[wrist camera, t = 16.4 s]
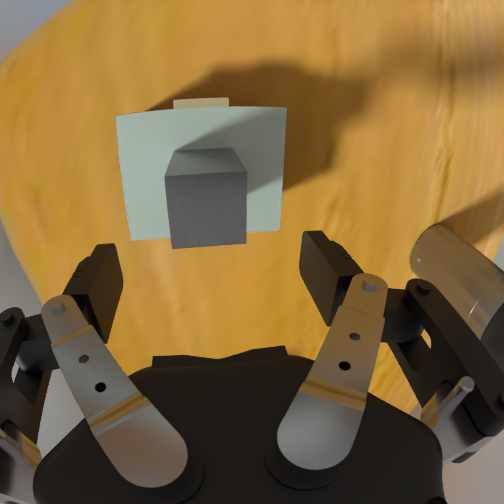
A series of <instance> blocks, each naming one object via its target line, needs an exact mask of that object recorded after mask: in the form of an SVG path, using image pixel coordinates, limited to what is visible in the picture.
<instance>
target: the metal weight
mask: <svg viewBox="0 0 504 504" xmlns="http://www.w3.org/2000/svg"><path fill="white" fill-rule="evenodd" d="M164 180H165V191H166V201H167V210H168V219H169V228H170V236H171V244H172V249H179V248H192V247H205V246H219V245H232V244H246V230H247V170H246V169H245V167H244V166H243V164H242V162H241V161H240V159H239V158H238V156H237V154H236V153H235V151H234V150H233V148H212V149H194V150H181V151H174V152H173V154H172V157H171V159H170V162H169V165H168V168H167V170H166V173H165V176H164Z"/></svg>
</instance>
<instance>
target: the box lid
mask: <svg viewBox="0 0 504 504" xmlns="http://www.w3.org/2000/svg"><path fill="white" fill-rule="evenodd" d="M173 108H174V109H165V110H155V111H145V112H137V113H129V114H122V115H117V116H116V125H117V139H118V150H119V160H120V169H121V177H122V185H123V193H124V200H125V206H126V213H127V219H128V225H129V230H130V236H131V241H133V240H146V239H159V238H171V236H170V228H169V219H168V210H167V201H166V191H165V180H164V176H165V173H166V170H167V168H168V165H169V162H170V159H171V157H172V154H173V152H174V151H181V150H194V149H212V148H233V150H234V151H235V153H236V154H237V156H238V158H239V159H240V161H241V162H242V164H243V166H244V167H245V169H246V170H247V230H246V232H263V231H279V229H280V216H281V201H282V186H283V170H284V154H285V136H286V116H287V108H285V107H263V106H229V98H228V97H221V98H193V99H178V100H173Z"/></svg>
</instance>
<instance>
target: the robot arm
mask: <svg viewBox="0 0 504 504" xmlns="http://www.w3.org/2000/svg"><path fill="white" fill-rule="evenodd" d="M410 264H411V268H412V271H413V272H414V273H415V274H416V275H417V276H418V277H419V278H420V279H418V278H415V279H411V280H409V281H408V282H407V285H406V288H405V290H403V289H392V288H388V285H387V283H386V282H385V281H384V280H383V279H382V278H380V277H378V276H376V275H373V274H368V273H364V272H363V271H362V269H361V268H360V267H359V266H358V265H357V263H356V262H355V261H354V260H353V259H352V257H351V256H350V255H349V254H347V251H346V250H345V249H344V248H343V247H342V246H341V245H339V244H338V243H336V242H334V241H330V240H329V239H328V238H327V236H326V235H325V234H324V233H323V232H322V231H321V230H319V231H304V232H303V235H302V243H301V252H300V261H299V270H300V275H301V277H302V279H303V281H304V283H305V285H306V287H307V289H308V291H309V292H310V294H311V296H312V298H313V300H314V302H315V304H316V306H317V308H318V310H319V312H320V314H321V316H322V317H323V319H324V321H325V323H326V325H327V327H329V326H331V327H330V329H329V331H328V334H327V336H326V338H325V340H324V342H323V345H322V347H321V349H320V351H319V353H318V355H317V358H316V360H315V361H314V360H311V359H308V358H305V357H301V356H295V355H288V354H287V351H286V348H285V345H283V346H276V347H268V348H260V349H252V350H249V351H246V352H243V353H239V354H236V355H233V356H230V357H226V358H223V359H212V358H204V357H196V356H189V355H173V356H153V360H152V366H150V367H147V368H144V369H141V370H139V371H137V372H135V373H133V374H131V375H129V376H127V375H126V374H125V372H124V371H123V370H122V368H121V367H120V366H119V364H118V363H117V361H116V360H115V359H114V357H113V356H112V354H111V353H110V352H109V350H108V349H107V347H106V346H105V344H107V343H108V339H109V335H110V331H111V327H112V324H113V320H114V317H115V313H116V310H117V306H118V303H119V299H120V296H121V293H122V289H123V275H122V271H121V267H120V263H119V259H118V254H117V250H116V246H115V244H114V243H110V244H98V245H96V247H95V249H94V250H93V252H92V254H91V256H89V257H86V258H85V259H84V260H82V261H81V262H80V263H79V264H78V266H77V268H76V270H75V272H74V273H73V275H72V278H71V279H70V280H69V282H68V284H67V286H66V288H65V290H64V291H63V293H62V295H59V296H56V297H53V298H51V299H50V300H48V301H47V302H46V303H45V304H44V305H43V307H42V309H41V314H38V315H34V316H30V317H25V316H24V314H23V311H22V310H21V309H20V308H17V307H13V308H9V309H7V310H5V311H3V312H2V313H1V314H0V502H3V503H5V504H447V502H446V500H445V497H444V491H443V482H442V466H443V465H445V464H447V463H449V462H453V463H461V462H464V461H465V460H467V459H468V458H470V457H471V456H472V455H473V454H475V453H476V452H477V451H479V450H480V449H481V448H482V447H483V446H485V445H486V444H487V443H488V442H489V441H491V440H492V439H493V438H494V437H495V436H496V435H498V434H499V433H500V432H501V431H502V430H503V429H504V271H503V270H501V269H500V268H499V267H498V266H497V265H496V264H494V263H493V262H492V261H491V260H490V259H488V258H487V257H486V256H485V255H484V254H482V253H481V252H480V251H479V250H477V249H476V248H475V247H473V246H472V245H471V244H470V243H468V242H467V241H466V240H464V239H463V238H462V237H461V236H459V235H458V234H457V233H455V232H454V231H452V230H451V229H450V228H448V227H447V226H446V225H443V224H438V225H434V226H432V227H430V228H429V229H428V230H426V231H425V232H424V233H423V234H422V235H421V236H420V238H419V239H418V241H417V242H416V244H415V246H414V248H413V251H412V254H411V259H410ZM424 329H425V330H426V332H427V333H428V335H429V336H430V338H431V349H430V348H429V347H428V345H427V343H426V342H425V340H424V339H423V337H422V336H421V334H422V332H423V330H424ZM380 342H386V343H388V345H389V347H390V349H391V350H392V352H393V354H394V356H395V358H396V359H397V361H398V363H399V365H400V367H401V369H402V370H403V372H404V374H405V376H406V378H407V380H408V382H409V384H410V386H411V387H412V389H413V391H414V393H415V395H416V397H417V399H418V401H419V403H420V405H421V407H422V412H421V421H420V420H418V419H416V418H414V417H412V416H410V415H409V414H407V413H405V412H403V411H401V410H399V409H398V408H396V407H394V406H392V405H390V404H389V403H387V402H385V401H383V400H381V399H380V398H378V397H376V396H374V395H373V394H371V393H369V392H368V389H369V385H370V382H371V378H372V374H373V370H374V367H375V363H376V358H377V354H378V350H379V346H380ZM15 361H16V362H17V364H18V365H19V369H18V372H17V375H16V378H15V381H14V383H13V380H12V377H11V376H12V375H11V373H12V368H13V365H14V363H15ZM59 368H60V369H61V371H62V373H63V375H64V378H65V380H66V382H67V384H68V386H69V388H70V390H71V392H72V394H73V396H74V398H75V400H76V402H77V403H78V405H79V407H80V409H81V411H82V413H83V414H84V416H85V418H84V419H83V420H82V421H81V422H80V423H79V424H78V425H77V426H76V427H75V428H74V429H72V430H71V431H70V432H69V433H68V434H67V435H66V436H65V437H64V438H63V439H62V440H61V441H60V442H59V443H58V444H57V445H56V446H55V447H54V448H53V449H52V450H51V451H50V452H49V453H48V454H47V455H46V456H45V457H44V458H43V459H42V457H41V453H40V450H39V448H38V447H37V446H36V445H37V439H38V432H39V427H40V421H41V416H42V411H43V406H44V401H45V397H46V393H47V388H48V385H49V381H50V377H51V373H52V370H54V369H59Z"/></svg>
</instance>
